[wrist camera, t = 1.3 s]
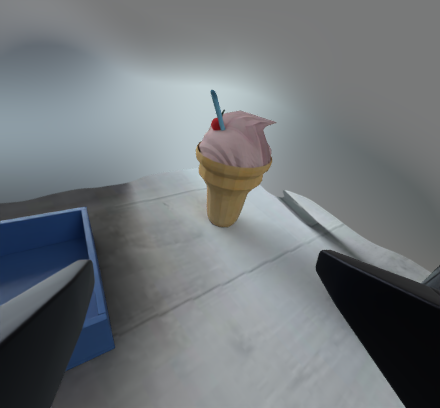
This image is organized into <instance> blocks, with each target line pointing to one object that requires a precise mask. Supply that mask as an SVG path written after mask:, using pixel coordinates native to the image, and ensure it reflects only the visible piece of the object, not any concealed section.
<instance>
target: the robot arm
mask: <svg viewBox="0 0 440 408" xmlns="http://www.w3.org/2000/svg"><path fill="white" fill-rule="evenodd" d="M316 272H317V274H318V276H319V277H320V279H321V281H322V283H323V284H324V286H325V288H326V290H327V291H328V293H329V295H330V297H331V299H332V300H333V302H334V304H335V305H336V307H337V308H338V310H339V311H340V313H341V314H342V315H343V317H344V318H345V320H346V321H347V323H348V324H349V326H350V327H351V329H352V330H353V331H354V333H355V334H356V336H357V337H358V339H359V340H360V342H361V343H362V345H363V346H364V348H365V349H366V350H367V352H368V353H369V355H370V356H371V358H372V359H373V361H374V362H375V364H376V365H377V366H378V368H379V369H380V371H381V372H382V374H383V375H384V377H385V378H386V380H387V381H388V383H389V384H390V385H391V387H392V388H393V390H394V391H395V393H396V394H397V396H398V397H399V399H400V400H401V401H402V403H403V404H404V406H405V407H406V408H440V290H437V289H435V288H430V287H429V286H426V285H424V284H421V283H418V282H416V281H413V280H410V279H408V278H405V277H402V276H399V275H397V274H394V273H391V272H389V271H386V270H383V269H381V268H378V267H375V266H373V265H370V264H367V263H364V262H362V261H359V260H356V259H354V258H351V257H348V256H346V255H343V254H340V253H338V252H335V251H332V250H322V251H320V253H319V256H318V260H317V263H316ZM94 284H95V277H94V269H93V262H92V261H91V260H77V261H76V262H74V263H72V264H70V265H69V266H67V267H65V268H64V269H62V270H60V271H59V272H57V273H55V274H53V275H52V276H50V277H48V278H47V279H45V280H43V281H42V282H40V283H38V284H36V285H35V286H33V287H31V288H30V289H28V290H26V291H25V292H23V293H21V294H19V295H18V296H16V297H14V298H13V299H11V300H9V301H8V302H6V303H4V304H2V305H1V306H0V408H50V407H51V405H52V403H53V400H54V398H55V395H56V393H57V390H58V388H59V385H60V383H61V380H62V378H63V375H64V373H65V371H66V368H67V366H68V363H69V361H70V358H71V356H72V353H73V351H74V348H75V346H76V343H77V341H78V339H79V336H80V333H81V331H82V328H83V324H84V321H85V317H86V314H87V310H88V307H89V303H90V299H91V296H92V292H93V289H94Z"/></svg>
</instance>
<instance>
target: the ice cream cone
mask: <svg viewBox="0 0 440 408" xmlns="http://www.w3.org/2000/svg"><path fill="white" fill-rule="evenodd" d="M211 95H212V99H213V103H214V106H215V110H216V114H217V117H218V118H215V119H213V121H212V123H211V126H210V128H209V130H208V132H207V133H206V134H205V135H204V138H203V140H202V141H201V142H200V143H199V144H198V145H197V148H196V157H197V160H198V161H199V162H200V165H199V174H200V176H201V177H202V178H203V179H204V181H205V183H206V185H207V214H208V217H209V219H210V221H211V223H213V224H214V225H216V226H218V227H229V226H231V225H232V224H234V223H235V222H236V221H237V219H238V217H239V215H240V213H241V210H242V207H243V205H244V202H245V199H246V196H247V194H248V192H250V191H251V190H252V189H254V188H255V187H257V186H258V185H260V183H261V181H262V177H263V174H264V173H265V172H267V171H268V169H269V168H270V166H271V163H272V157H271V148H270V146H269V145H268V143H267V141H266V138H265V135H264V131H263V129H264V128H265V127H266V126H268V125H271V124H274V123H276V122H274V121H271V120H268V119H265V118H262V117H258V116H256V115H253V114H249V113H246V112H243V111H236V112H230V113H225V114H223V113H224V111H225V110H224V111H223V112H222V114H221V110H220V106H219V102H218V98H217V95H216V93H215V91H214V90H211Z"/></svg>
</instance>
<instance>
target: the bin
mask: <svg viewBox="0 0 440 408" xmlns="http://www.w3.org/2000/svg"><path fill="white" fill-rule="evenodd" d="M77 260H91V261H92V262H93V269H94V277H95V284H94V289H93V292H92V296H91V299H90V303H89V307H88V310H87V314H86V317H85V321H84V324H83V328H82V331H81V333H80V336H79V339H78V341H77V343H76V346H75V348H74V351H73V353H72V356H71V358H70V361H69V363H68V366H67V368H66V371H67V370H69V369H71V368H73V367H76V366H78V365H80V364H82V363H84V362H86V361H88V360H91V359H93V358H95V357H97V356H99V355H101V354H103V353H106V352H108V351H110V350H112V349H114V348H115V344H114V339H113V334H112V329H111V324H110V319H109V314H108V309H107V304H106V299H105V294H104V289H103V283H102V278H101V273H100V268H99V263H98V258H97V253H96V248H95V243H94V238H93V233H92V229H91V225H90V221H89V217H88V212H87V208H86V207H81V208H75V209H69V210H63V211H57V212H51V213H45V214H39V215H33V216H28V217H22V218H16V219H10V220H4V221H0V306H1V305H2V304H4V303H6V302H8V301H9V300H11V299H13V298H14V297H16V296H18V295H19V294H21V293H23V292H25V291H26V290H28V289H30V288H31V287H33V286H35V285H36V284H38V283H40V282H42V281H43V280H45V279H47V278H48V277H50V276H52V275H53V274H55V273H57V272H59V271H60V270H62V269H64V268H65V267H67V266H69V265H70V264H72V263H74V262H76V261H77Z"/></svg>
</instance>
